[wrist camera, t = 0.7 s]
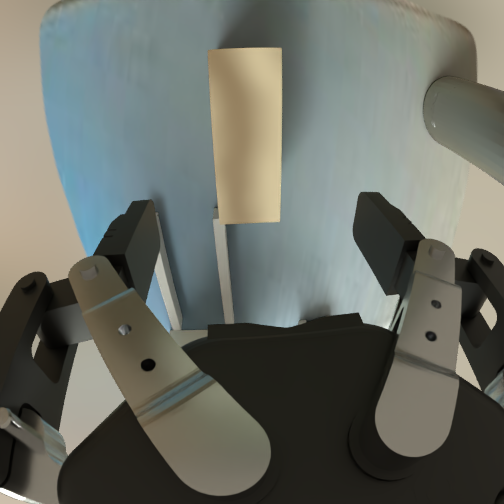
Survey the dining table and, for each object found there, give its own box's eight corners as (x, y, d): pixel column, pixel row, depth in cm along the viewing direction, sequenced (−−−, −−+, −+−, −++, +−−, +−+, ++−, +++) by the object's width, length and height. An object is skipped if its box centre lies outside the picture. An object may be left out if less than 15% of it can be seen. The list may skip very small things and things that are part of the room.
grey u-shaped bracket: (237, 206, 34) (246, 388, 16) (246, 346, 49) (254, 472, 31) (136, 214, 33) (66, 379, 16) (176, 348, 49) (165, 470, 31)
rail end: (267, 52, 24) (281, 48, 17) (268, 185, 33) (279, 227, 25) (215, 54, 24) (207, 50, 17) (222, 187, 32) (220, 230, 25)
